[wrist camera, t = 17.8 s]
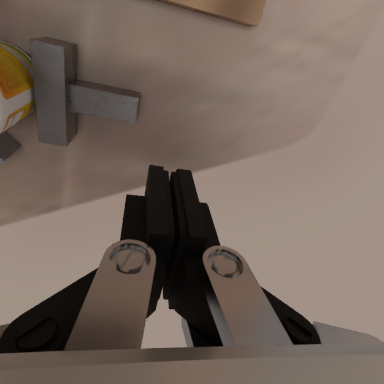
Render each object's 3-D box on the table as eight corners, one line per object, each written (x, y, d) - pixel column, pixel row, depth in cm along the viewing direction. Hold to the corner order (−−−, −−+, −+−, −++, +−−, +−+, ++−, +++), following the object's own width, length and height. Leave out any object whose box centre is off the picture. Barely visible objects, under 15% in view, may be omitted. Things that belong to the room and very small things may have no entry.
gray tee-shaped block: (52, 128, 22) (39, 142, 20) (47, 37, 19) (29, 39, 16) (134, 142, 24) (131, 156, 21) (143, 59, 20) (141, 65, 18)
